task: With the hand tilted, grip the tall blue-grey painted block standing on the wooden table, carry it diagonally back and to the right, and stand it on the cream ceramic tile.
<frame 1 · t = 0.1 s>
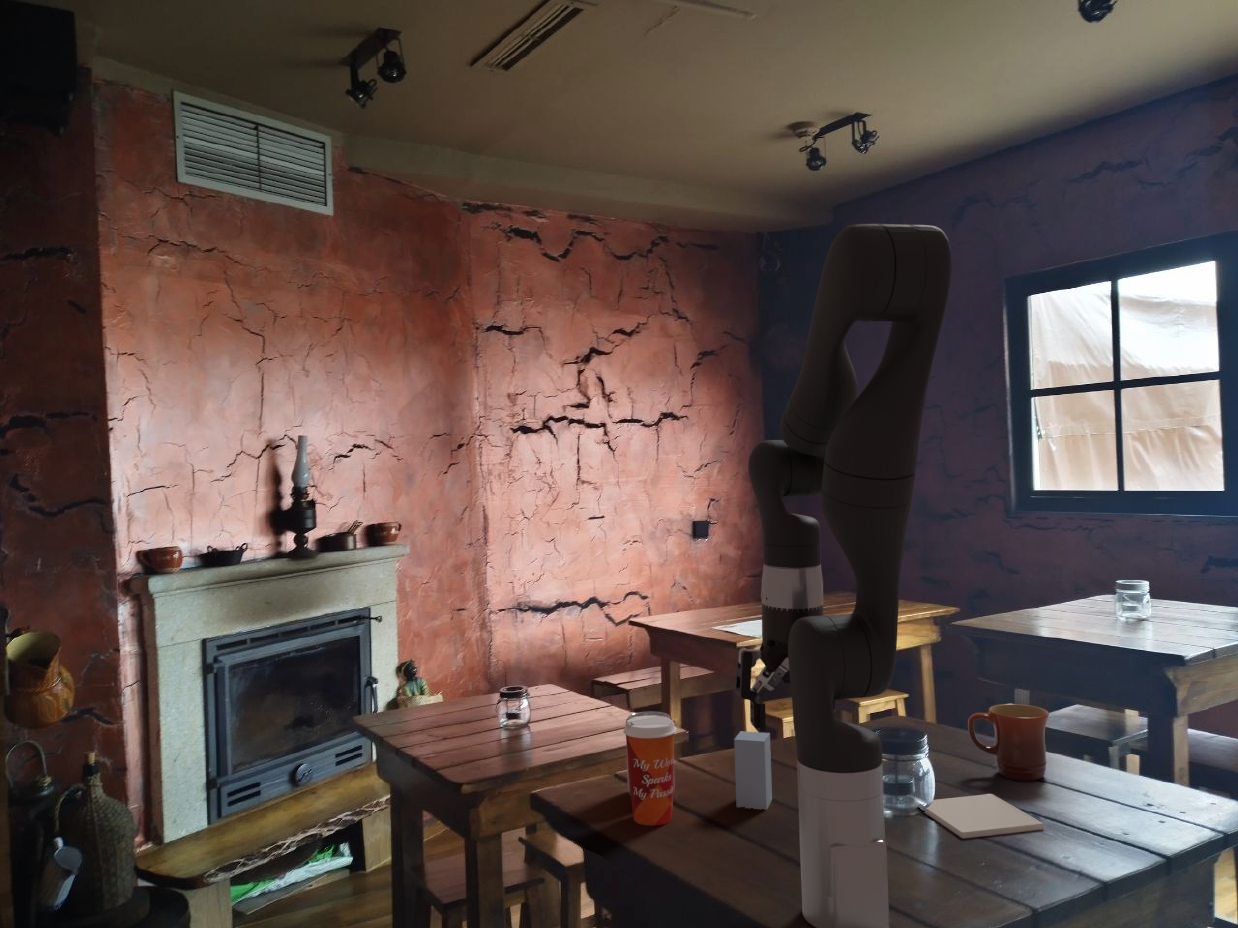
hand: (792, 728, 115), 17 cm above the table, tool pointing down, fingers open, 8 cm apart
soda can: (651, 795, 143), on the table
tile: (977, 817, 129), on the table
paper cup: (653, 819, 133), on the table
mug: (1010, 775, 147), on the table
block: (754, 803, 138), on the table
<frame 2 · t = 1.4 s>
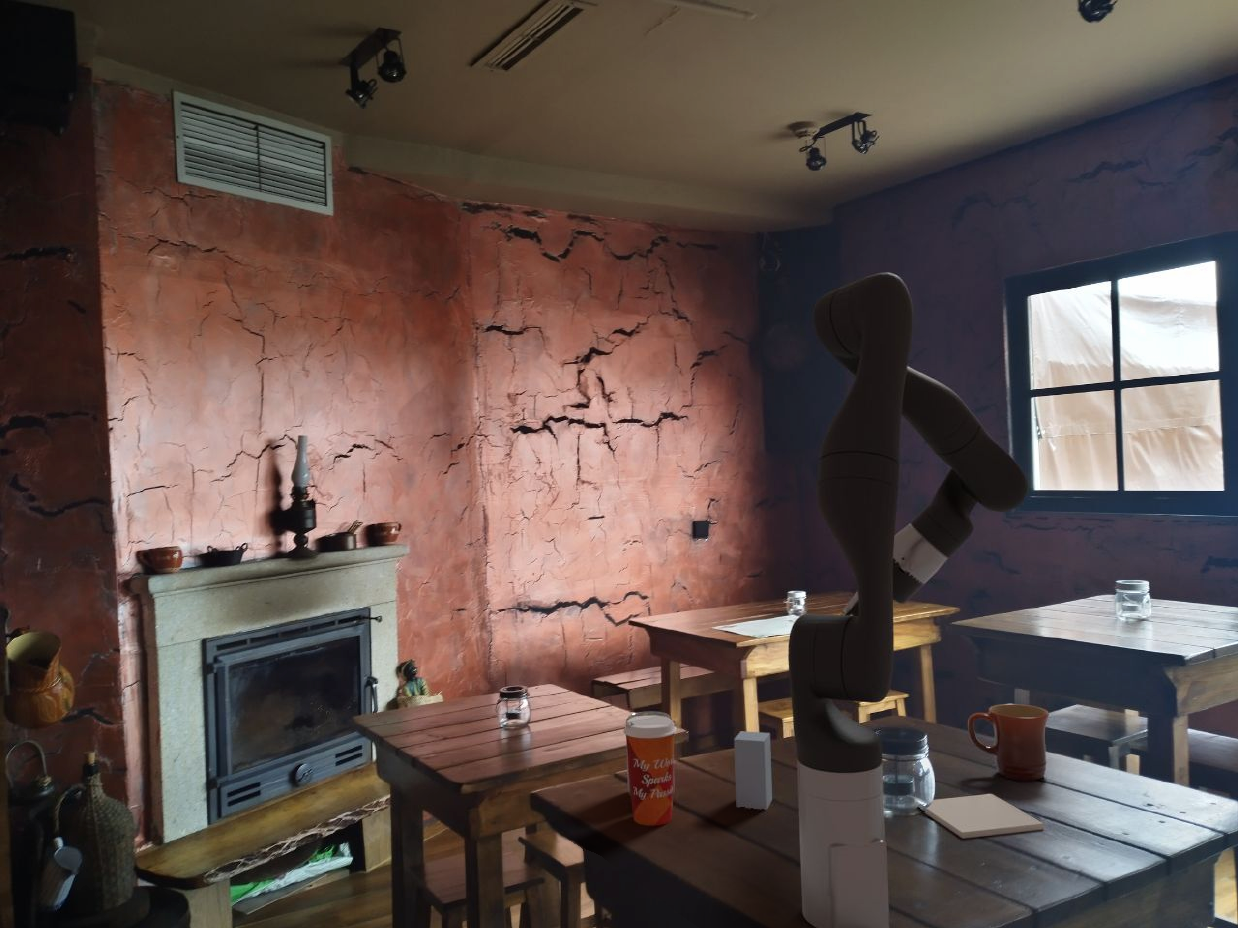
hand: (826, 641, 134), 24 cm above the table, tool tilted 45°, fingers open, 8 cm apart
nothing on the table moved.
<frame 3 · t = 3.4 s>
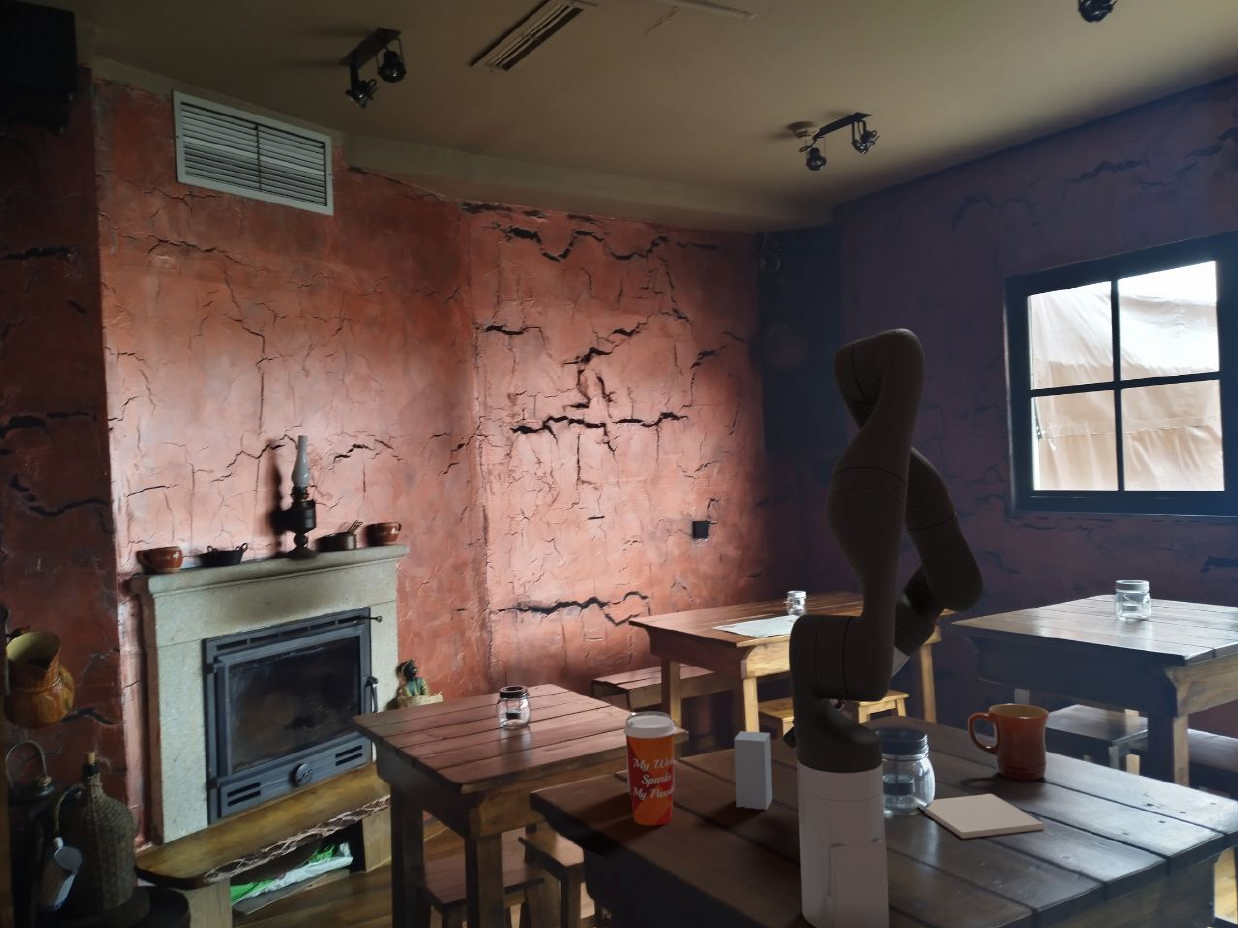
hand: (792, 734, 136), 11 cm above the table, tool tilted 45°, fingers open, 8 cm apart
nothing on the table moved.
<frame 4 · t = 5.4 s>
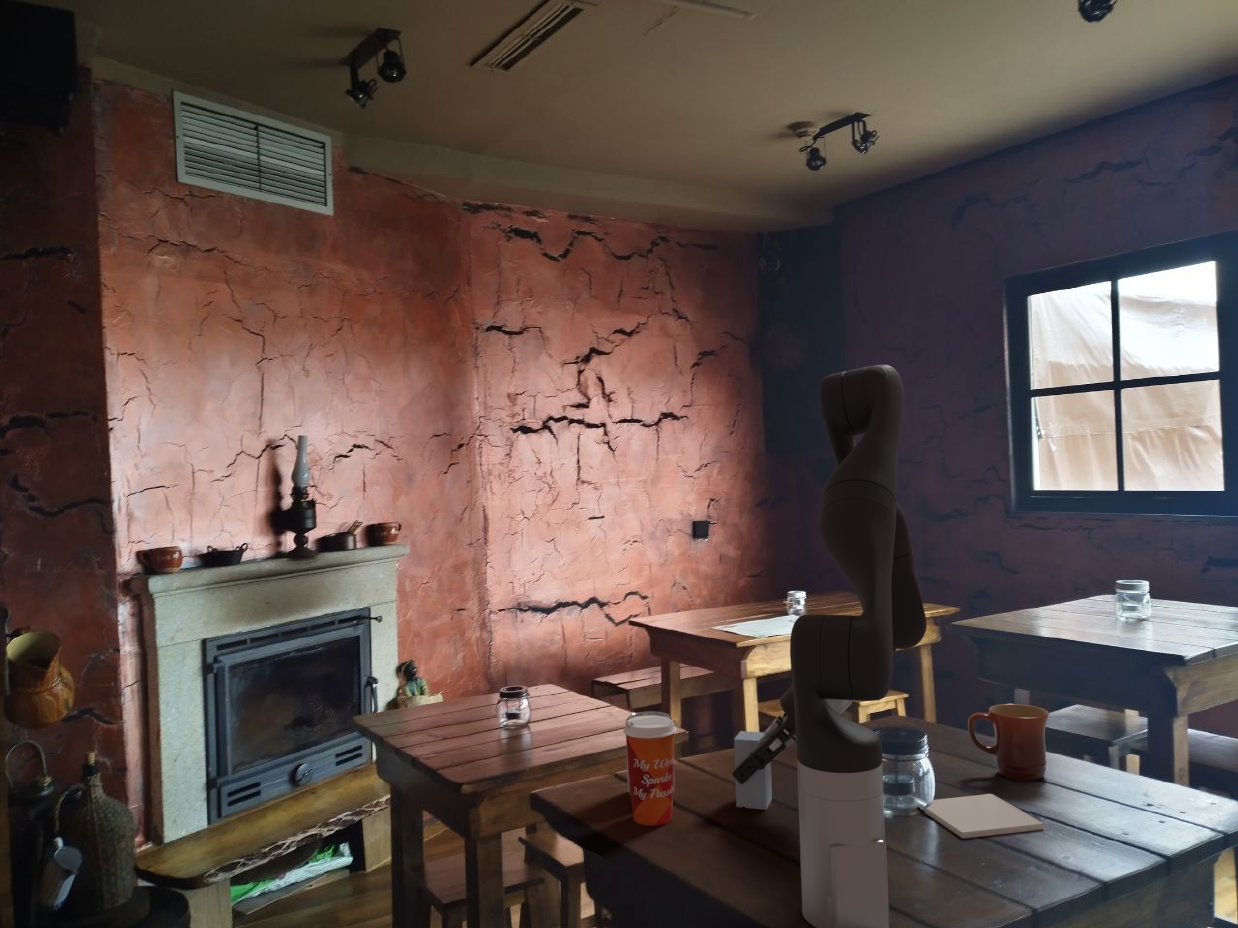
hand: (740, 772, 138), 4 cm above the table, tool tilted 45°, fingers closed on block, 4 cm apart
block: (754, 802, 138), on the table, touching gripper
everything else where it was.
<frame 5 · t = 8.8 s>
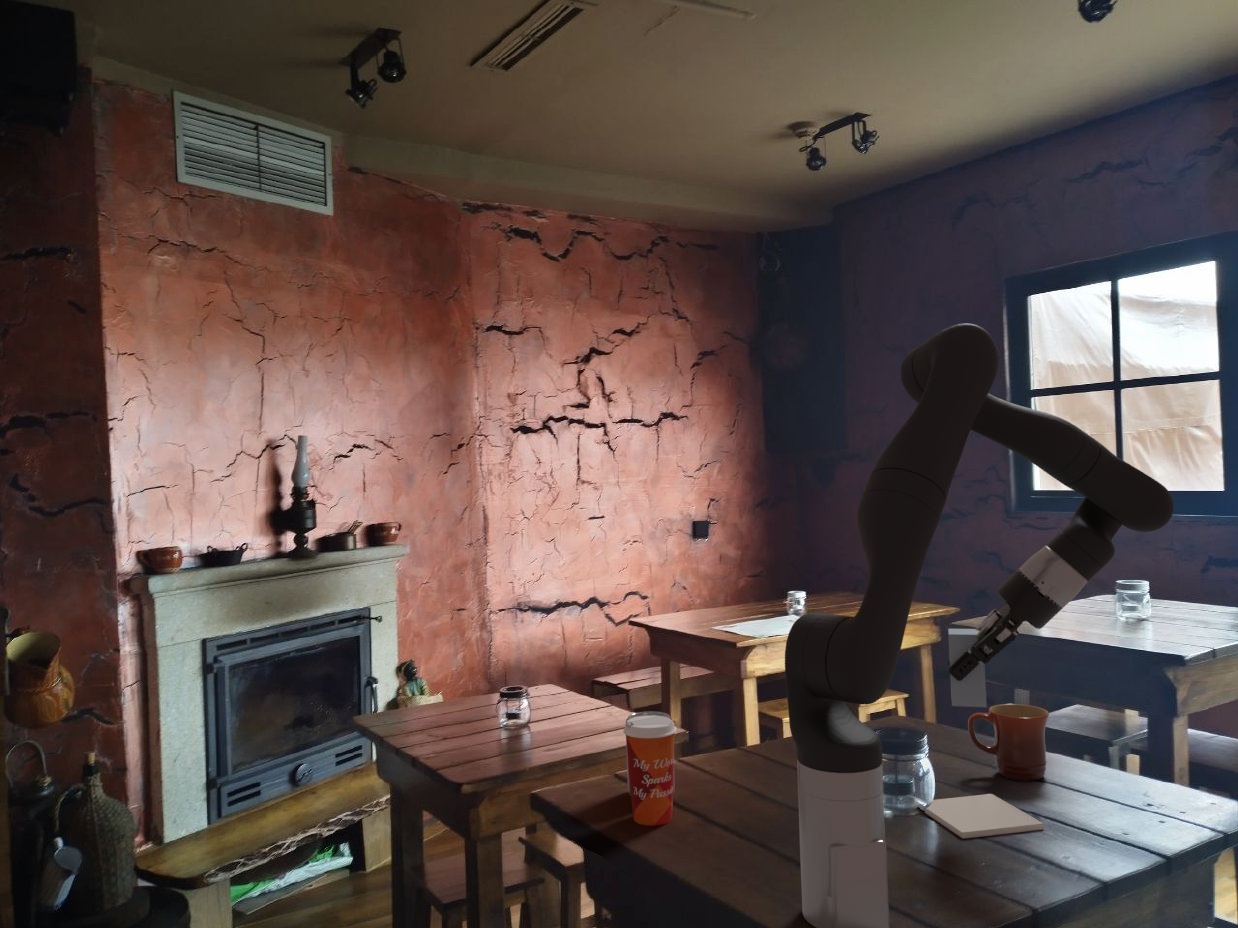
hand: (953, 671, 130), 20 cm above the table, tool tilted 45°, fingers closed on block, 4 cm apart
block: (968, 702, 130), point 16 cm above the table, touching gripper
everything else where it was.
when the fingers open (6 cm above the table, at t = 12.0 s): block drops 1 cm, resting on tile.
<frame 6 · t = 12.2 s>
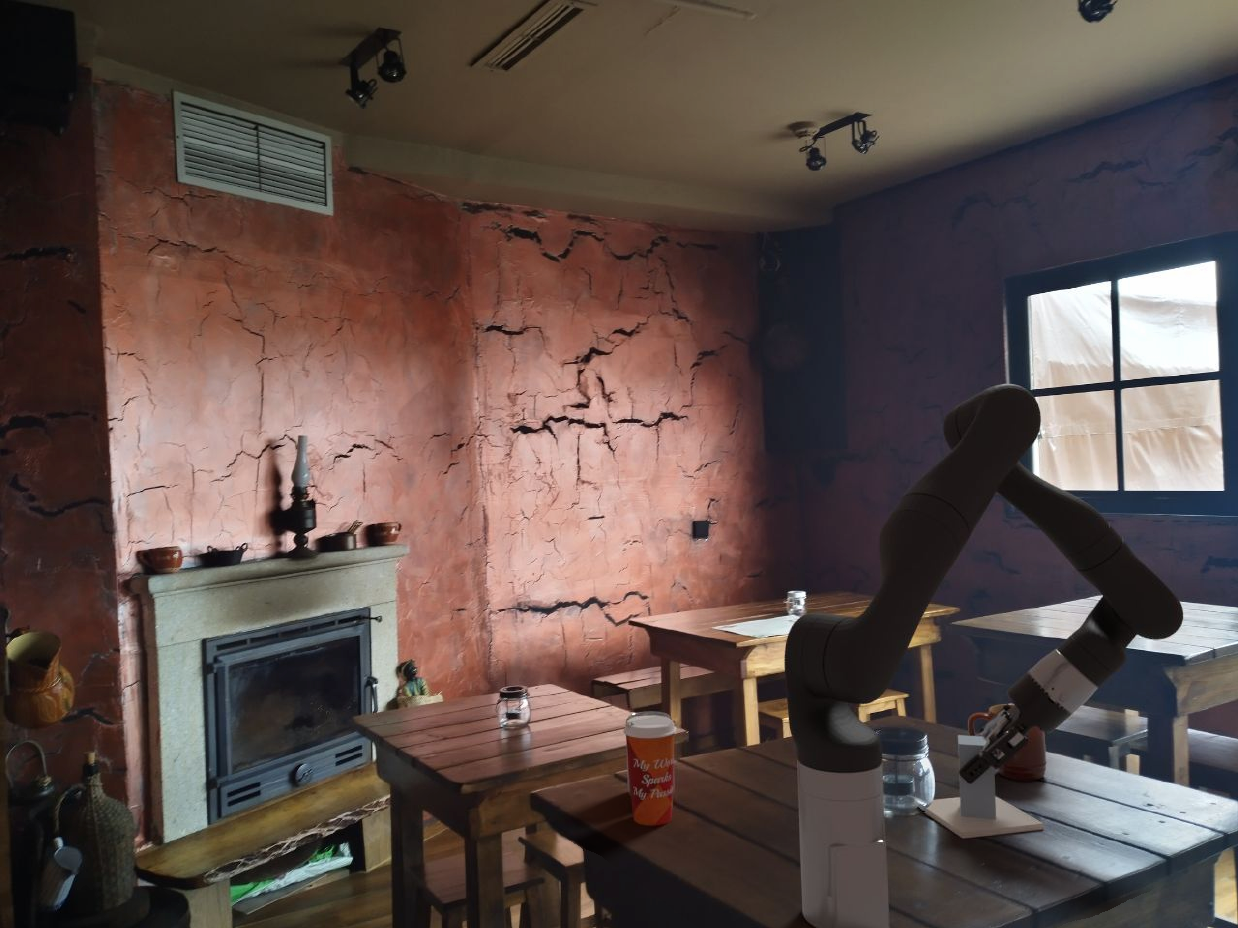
hand: (963, 770, 130), 7 cm above the table, tool tilted 45°, fingers open, 6 cm apart
block: (977, 811, 129), point 1 cm above the table, touching tile
everything else where it was.
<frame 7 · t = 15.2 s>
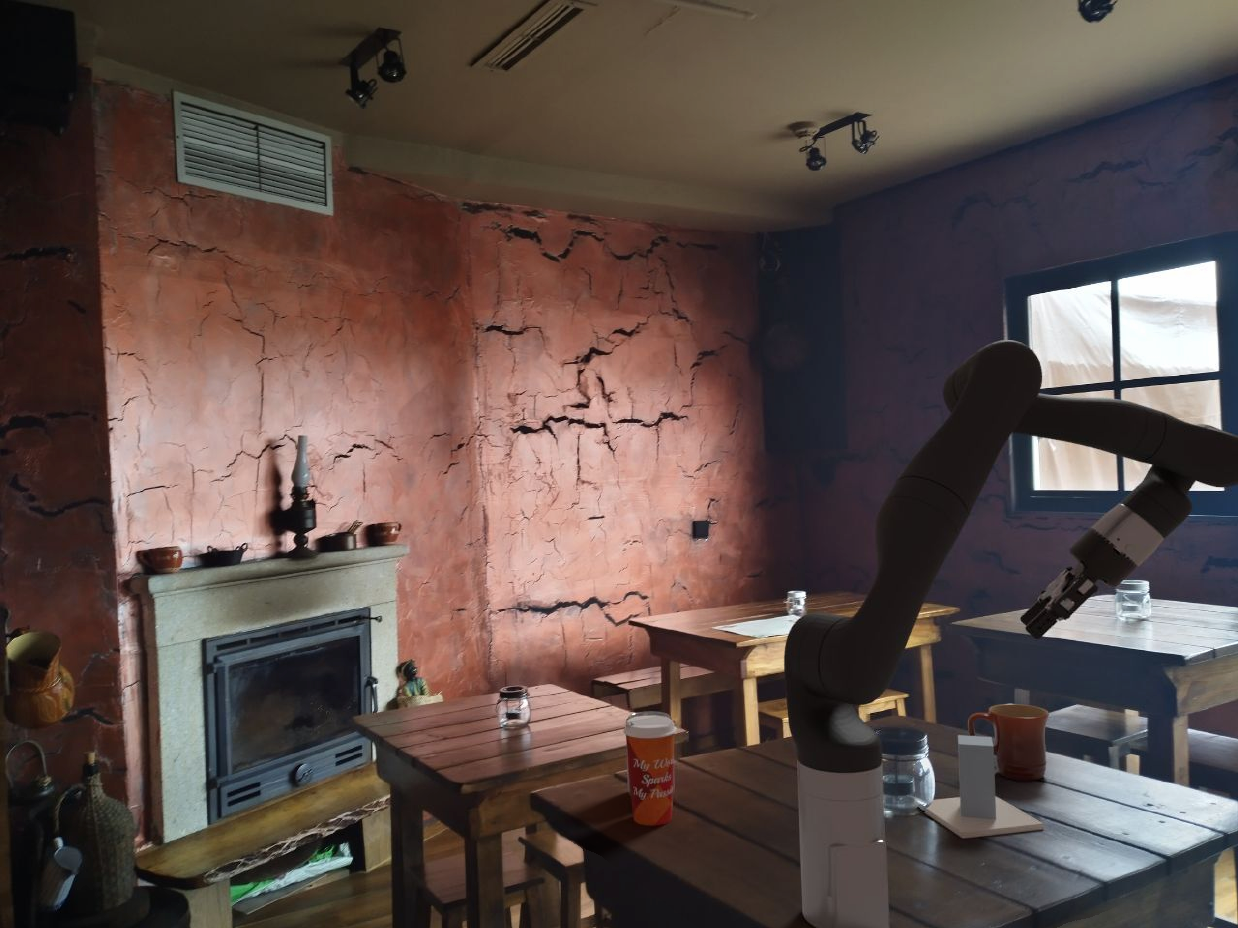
hand: (1027, 629, 128), 26 cm above the table, tool tilted 45°, fingers open, 8 cm apart
nothing on the table moved.
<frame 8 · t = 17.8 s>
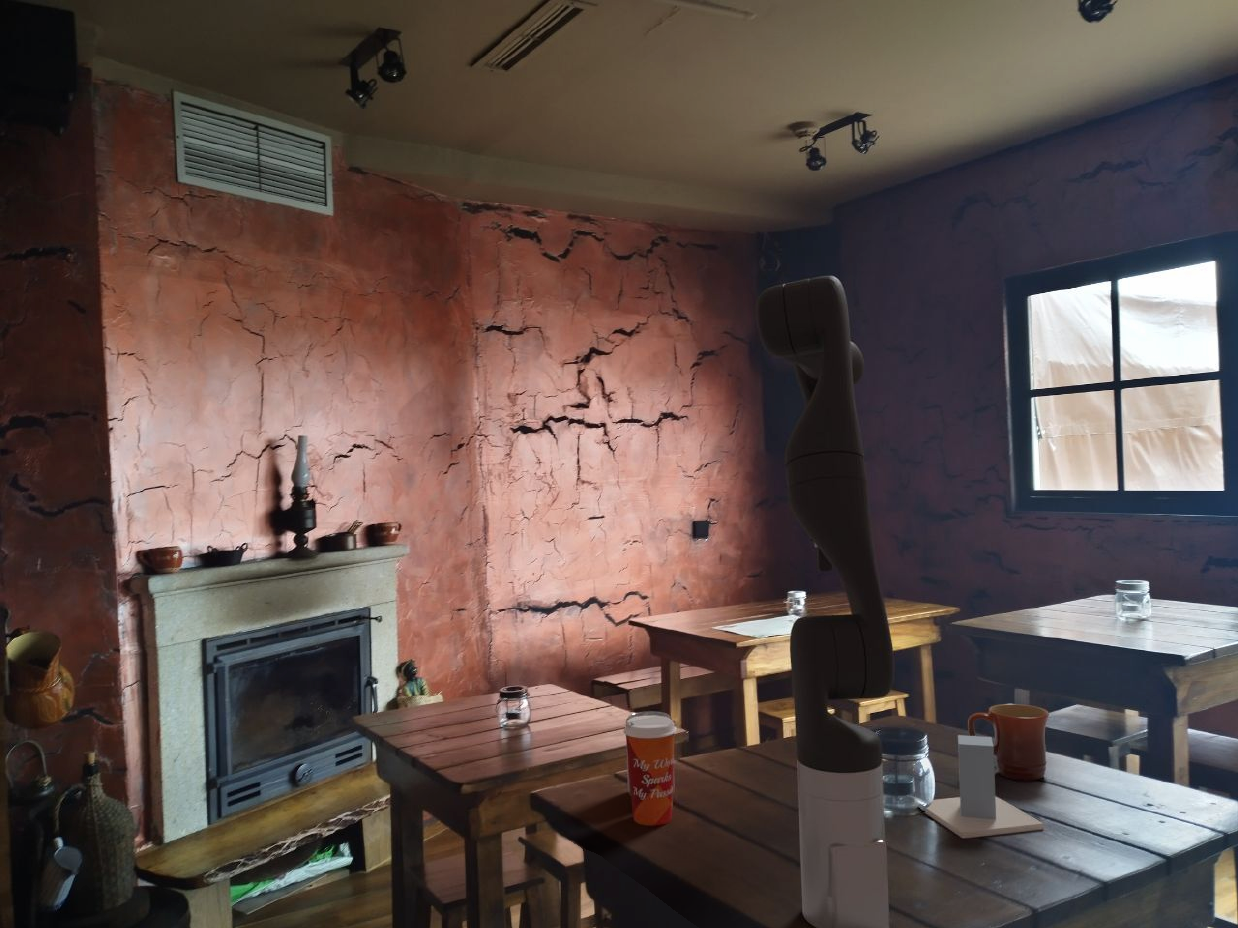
hand: (835, 573, 145), 33 cm above the table, tool pointing down, fingers open, 8 cm apart
nothing on the table moved.
at the end: block inside the target area on the tile (0.0 cm from its centre), point 0.8 cm above the tile's base; block tilted 0°; the gripper is holding nothing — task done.
